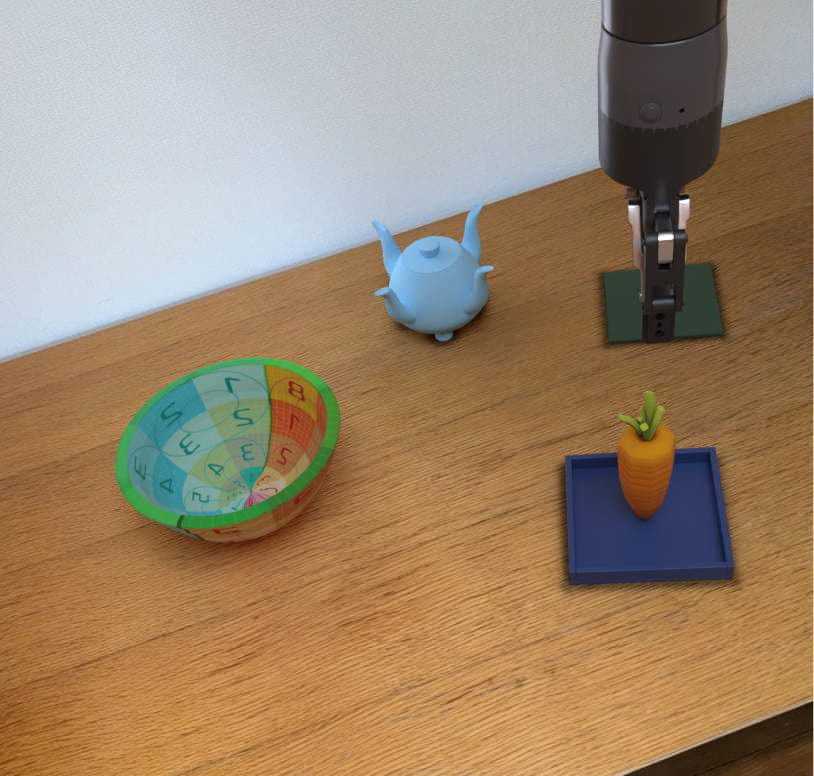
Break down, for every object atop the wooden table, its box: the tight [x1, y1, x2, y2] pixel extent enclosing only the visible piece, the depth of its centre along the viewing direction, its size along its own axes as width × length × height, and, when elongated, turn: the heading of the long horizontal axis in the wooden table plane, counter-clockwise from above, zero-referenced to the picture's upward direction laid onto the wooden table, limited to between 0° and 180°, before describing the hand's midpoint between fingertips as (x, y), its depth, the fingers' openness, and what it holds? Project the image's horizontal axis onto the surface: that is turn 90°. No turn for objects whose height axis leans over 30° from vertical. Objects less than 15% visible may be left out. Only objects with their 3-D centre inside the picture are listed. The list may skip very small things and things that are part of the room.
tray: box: [564, 446, 735, 586], centre depth 92 cm, size 14×14×2 cm
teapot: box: [371, 202, 495, 342], centre depth 112 cm, size 13×13×10 cm
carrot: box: [617, 390, 677, 519], centre depth 87 cm, size 5×5×15 cm
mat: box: [603, 262, 724, 345], centre depth 111 cm, size 12×12×1 cm
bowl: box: [114, 357, 341, 543], centre depth 99 cm, size 22×22×10 cm
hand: (652, 301), depth 73 cm, fingers open, 8 cm apart
